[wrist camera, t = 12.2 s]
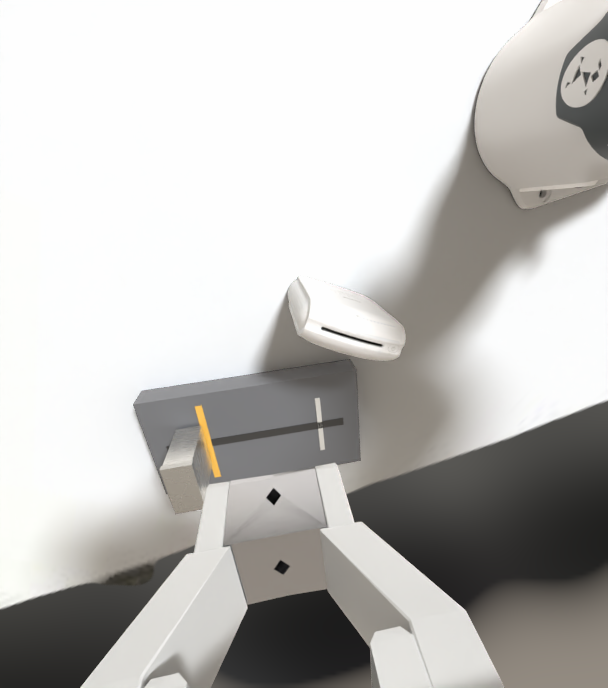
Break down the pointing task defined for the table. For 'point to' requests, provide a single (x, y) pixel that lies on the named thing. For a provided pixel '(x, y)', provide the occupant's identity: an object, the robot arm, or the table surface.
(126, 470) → the table surface
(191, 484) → the fader
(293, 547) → the robot arm
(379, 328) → the photo printer
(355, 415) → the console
